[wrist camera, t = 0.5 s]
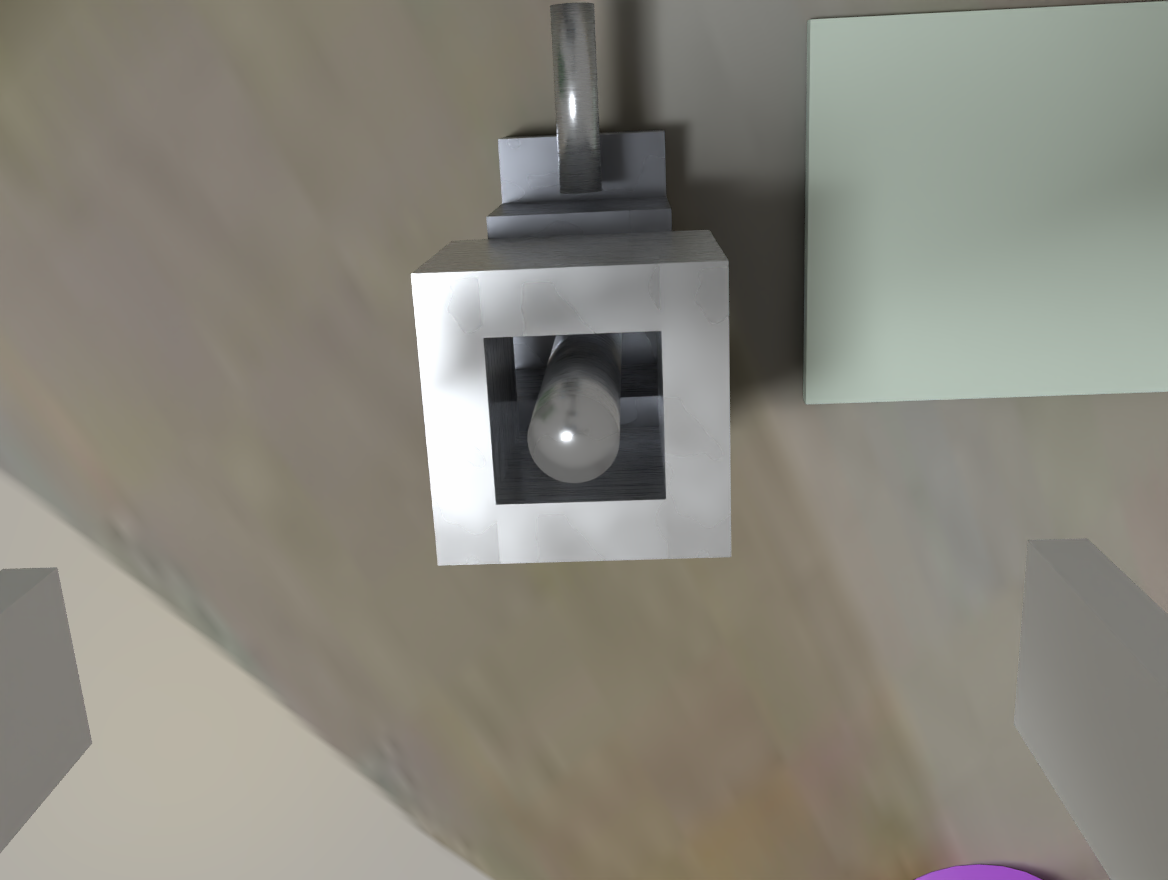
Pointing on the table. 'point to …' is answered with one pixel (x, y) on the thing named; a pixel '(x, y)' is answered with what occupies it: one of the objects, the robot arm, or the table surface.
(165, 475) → the table surface
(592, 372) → the vise
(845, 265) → the mat
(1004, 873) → the figurine
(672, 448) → the grey hollow block
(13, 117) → the table surface
